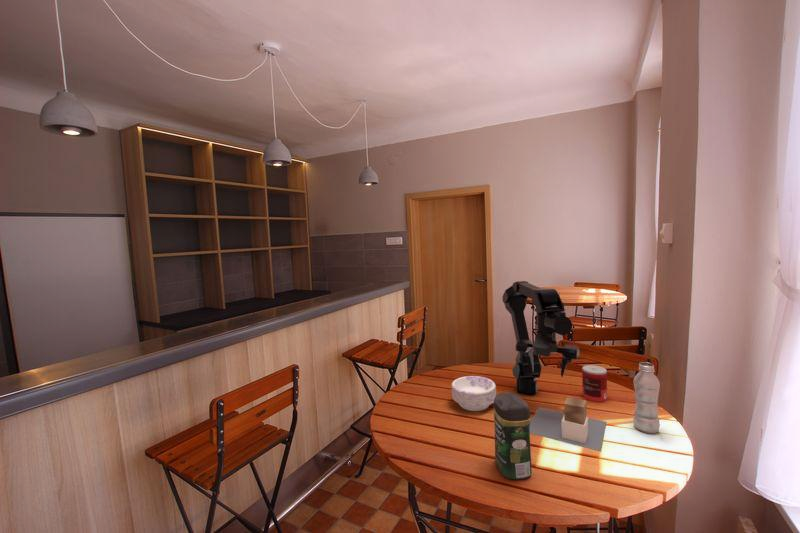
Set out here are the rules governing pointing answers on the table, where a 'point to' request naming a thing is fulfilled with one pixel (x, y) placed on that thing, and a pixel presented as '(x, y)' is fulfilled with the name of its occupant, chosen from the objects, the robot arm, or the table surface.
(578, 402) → the walnut block
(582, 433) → the cream block
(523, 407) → the coffee jar
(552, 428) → the build mat
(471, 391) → the paper bowls
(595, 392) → the canned food
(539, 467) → the table surface
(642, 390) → the plastic bottle
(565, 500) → the table surface
